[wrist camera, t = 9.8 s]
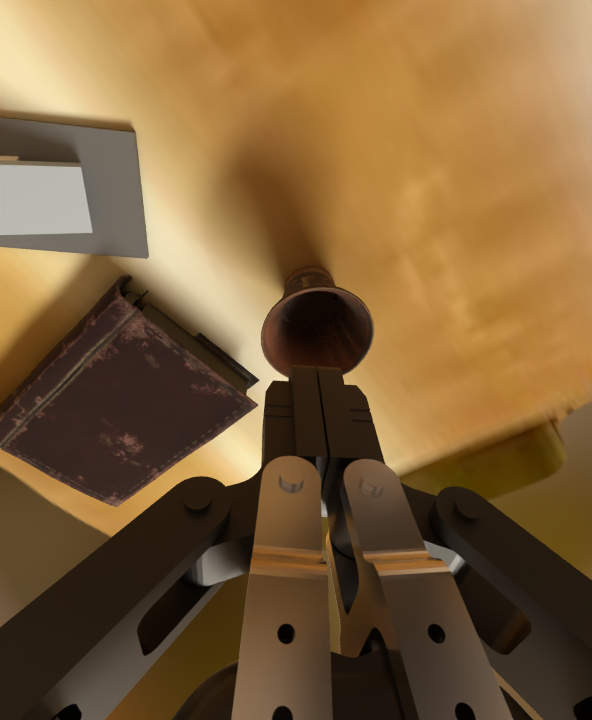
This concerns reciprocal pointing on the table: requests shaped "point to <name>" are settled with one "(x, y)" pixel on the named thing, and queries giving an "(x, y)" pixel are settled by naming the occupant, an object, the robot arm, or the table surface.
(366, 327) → the cup
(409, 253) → the table surface
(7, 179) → the domino
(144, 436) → the diary
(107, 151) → the mat
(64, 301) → the table surface
